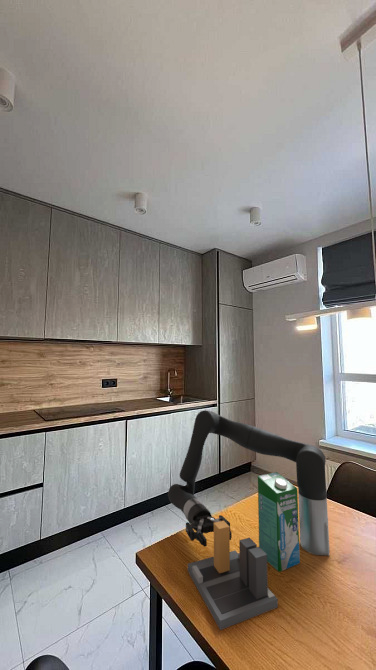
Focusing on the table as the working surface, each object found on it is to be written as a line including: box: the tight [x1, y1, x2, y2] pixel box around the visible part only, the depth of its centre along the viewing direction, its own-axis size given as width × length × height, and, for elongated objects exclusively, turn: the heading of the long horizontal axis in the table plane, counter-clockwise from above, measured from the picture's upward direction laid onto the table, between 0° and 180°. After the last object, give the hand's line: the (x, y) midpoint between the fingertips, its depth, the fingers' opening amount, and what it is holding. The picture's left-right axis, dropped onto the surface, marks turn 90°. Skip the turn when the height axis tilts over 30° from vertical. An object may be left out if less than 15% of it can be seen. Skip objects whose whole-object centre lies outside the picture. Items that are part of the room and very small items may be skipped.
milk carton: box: [257, 471, 301, 573], centre depth 91 cm, size 9×9×25 cm
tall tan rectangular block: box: [213, 521, 231, 573], centre depth 83 cm, size 4×4×12 cm
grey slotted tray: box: [187, 537, 279, 631], centre depth 79 cm, size 17×20×12 cm
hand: (218, 540), depth 85 cm, fingers open, 8 cm apart
